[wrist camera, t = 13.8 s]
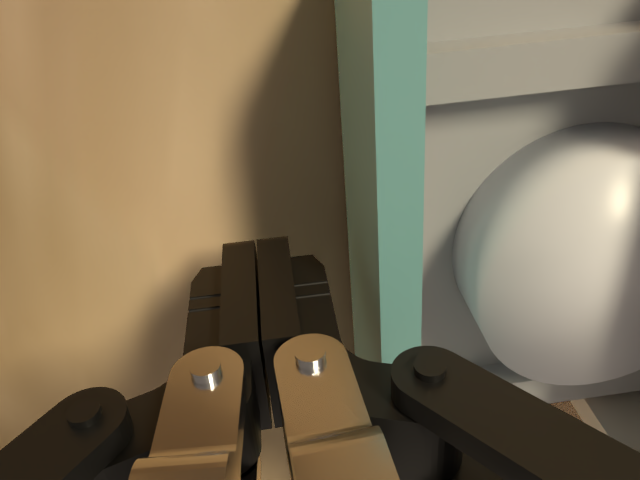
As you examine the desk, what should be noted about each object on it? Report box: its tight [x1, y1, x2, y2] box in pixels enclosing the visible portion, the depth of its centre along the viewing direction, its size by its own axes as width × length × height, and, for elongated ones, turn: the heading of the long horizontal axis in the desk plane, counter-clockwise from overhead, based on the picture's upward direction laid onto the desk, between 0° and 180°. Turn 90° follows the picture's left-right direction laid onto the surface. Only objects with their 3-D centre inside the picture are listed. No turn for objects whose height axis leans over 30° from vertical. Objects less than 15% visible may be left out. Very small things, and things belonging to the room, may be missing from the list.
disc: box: [452, 122, 640, 385], centre depth 14 cm, size 6×6×2 cm
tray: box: [334, 0, 640, 404], centre depth 14 cm, size 14×11×4 cm
